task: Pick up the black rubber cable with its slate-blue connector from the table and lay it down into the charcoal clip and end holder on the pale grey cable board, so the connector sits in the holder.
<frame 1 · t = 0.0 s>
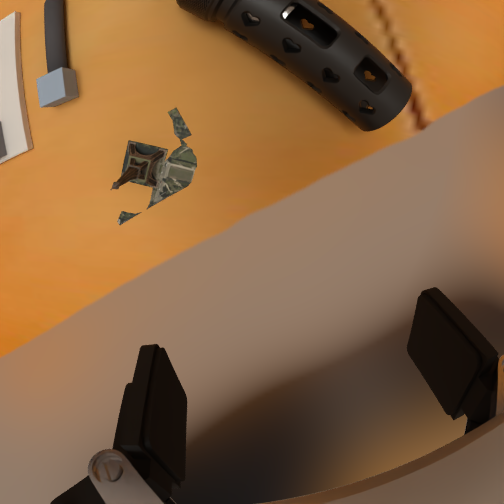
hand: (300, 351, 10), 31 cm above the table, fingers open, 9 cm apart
muzzle brake: (282, 39, 31), on the table
eiffel tower figurine: (145, 167, 37), on the table
cable: (59, 38, 26), on the table
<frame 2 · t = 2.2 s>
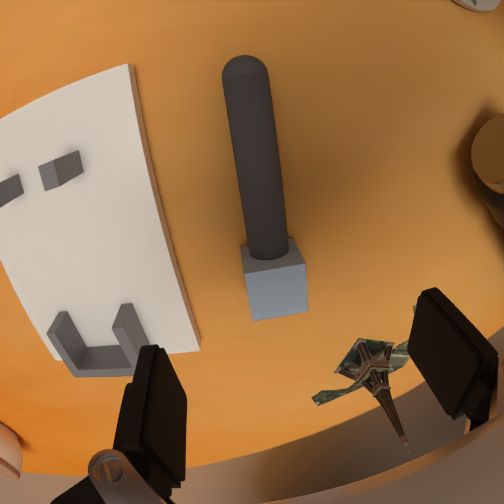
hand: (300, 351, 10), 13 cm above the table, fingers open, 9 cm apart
eiffel tower figurine: (362, 356, 31), on the table
cable board: (74, 241, 21), on the table
lidded bowl: (3, 429, 36), on the table
cable: (255, 163, 20), on the table
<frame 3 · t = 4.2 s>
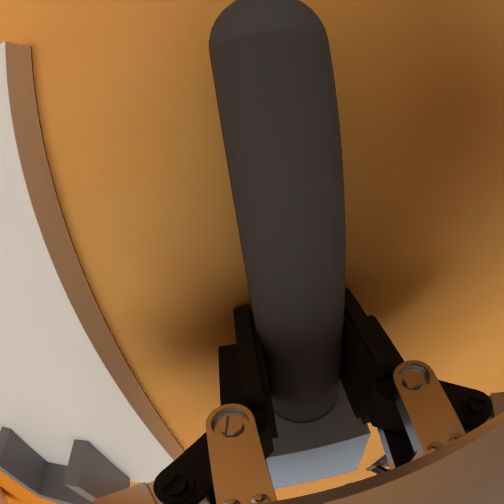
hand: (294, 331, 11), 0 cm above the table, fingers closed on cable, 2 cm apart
cable: (286, 247, 10), on the table, touching gripper
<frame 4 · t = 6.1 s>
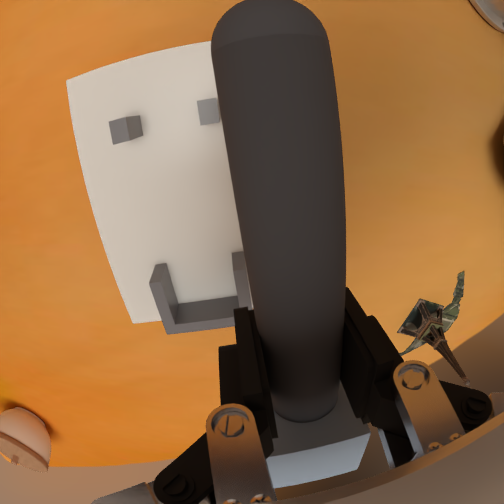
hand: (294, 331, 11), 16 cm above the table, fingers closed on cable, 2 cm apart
eiffel tower figurine: (417, 319, 35), on the table
cable board: (187, 190, 24), on the table
lidded bowl: (29, 417, 39), on the table
cable: (287, 248, 10), point 16 cm above the table, touching gripper
when the fingers open (3 cm above the table, at t = 8.2 s): cable drops 1 cm, resting on cable board.
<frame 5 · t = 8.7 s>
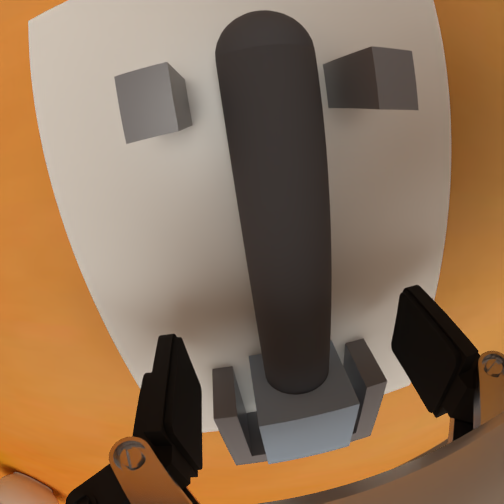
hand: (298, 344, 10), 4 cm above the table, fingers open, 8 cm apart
cable board: (273, 238, 13), on the table
lidded bowl: (33, 481, 27), on the table
cable: (279, 229, 11), point 1 cm above the table, touching cable board
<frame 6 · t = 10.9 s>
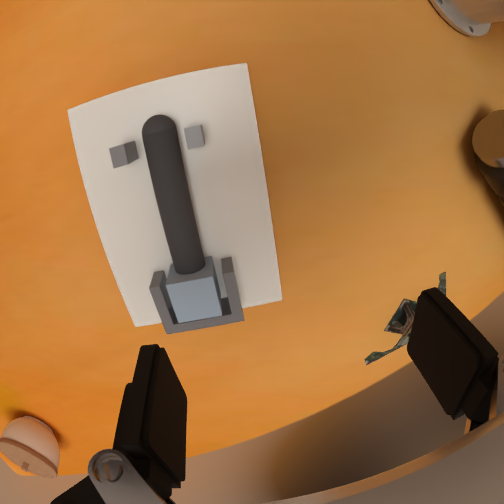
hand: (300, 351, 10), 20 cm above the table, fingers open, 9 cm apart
eiffel tower figurine: (403, 317, 38), on the table
cable board: (179, 204, 27), on the table
lidded bowl: (38, 425, 40), on the table
cable: (176, 198, 26), point 1 cm above the table, touching cable board
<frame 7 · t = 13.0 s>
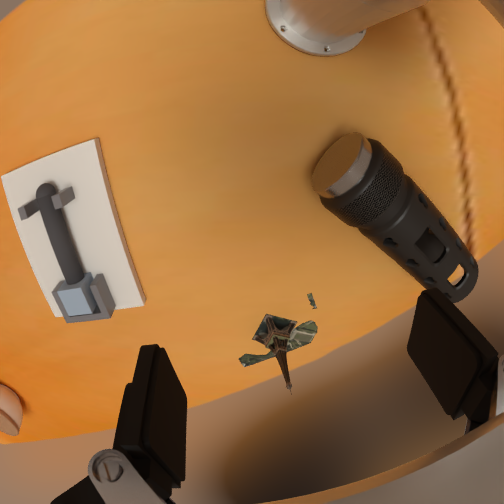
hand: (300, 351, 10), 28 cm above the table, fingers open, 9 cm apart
muzzle brake: (389, 214, 40), on the table
eiffel tower figurine: (273, 330, 47), on the table
cable board: (70, 236, 36), on the table
lidded bowl: (8, 393, 50), on the table
cable: (64, 234, 34), point 1 cm above the table, touching cable board
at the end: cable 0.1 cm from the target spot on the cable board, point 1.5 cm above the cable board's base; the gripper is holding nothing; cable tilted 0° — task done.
